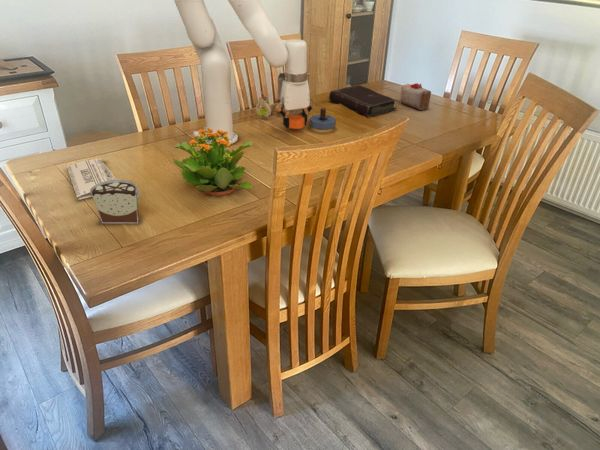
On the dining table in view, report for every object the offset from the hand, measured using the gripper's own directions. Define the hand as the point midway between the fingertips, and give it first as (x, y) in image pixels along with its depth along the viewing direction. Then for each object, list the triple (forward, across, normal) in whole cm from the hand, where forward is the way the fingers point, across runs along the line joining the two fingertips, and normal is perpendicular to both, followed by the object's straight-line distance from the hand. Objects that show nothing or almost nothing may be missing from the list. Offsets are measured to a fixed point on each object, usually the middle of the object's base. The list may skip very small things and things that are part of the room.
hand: (295, 125), depth 175 cm
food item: (+5, -65, -12) cm, 66 cm away
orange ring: (0, 0, 0) cm, 0 cm away
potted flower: (+4, +39, +31) cm, 50 cm away
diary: (+5, -43, -20) cm, 47 cm away
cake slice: (+3, +67, +36) cm, 76 cm away
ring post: (+4, -13, -2) cm, 13 cm away
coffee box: (+4, -8, -22) cm, 24 cm away
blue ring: (+3, -13, -2) cm, 13 cm away
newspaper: (+3, +72, +10) cm, 73 cm away
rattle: (+4, +2, -22) cm, 23 cm away
